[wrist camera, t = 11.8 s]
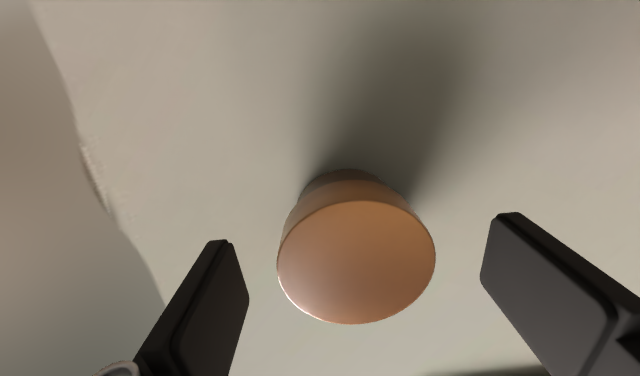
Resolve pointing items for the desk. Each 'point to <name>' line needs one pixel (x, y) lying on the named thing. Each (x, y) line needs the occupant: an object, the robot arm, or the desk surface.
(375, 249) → the oak chip
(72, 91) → the desk surface
